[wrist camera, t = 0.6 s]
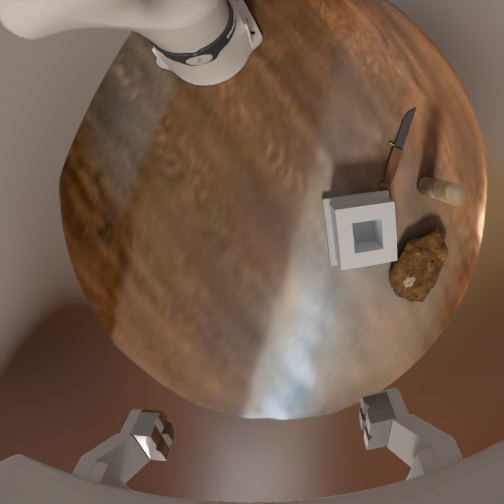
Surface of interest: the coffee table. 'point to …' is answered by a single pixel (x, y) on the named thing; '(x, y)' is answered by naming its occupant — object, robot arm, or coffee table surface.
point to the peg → (442, 190)
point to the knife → (397, 150)
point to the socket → (360, 229)
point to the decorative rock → (419, 266)
